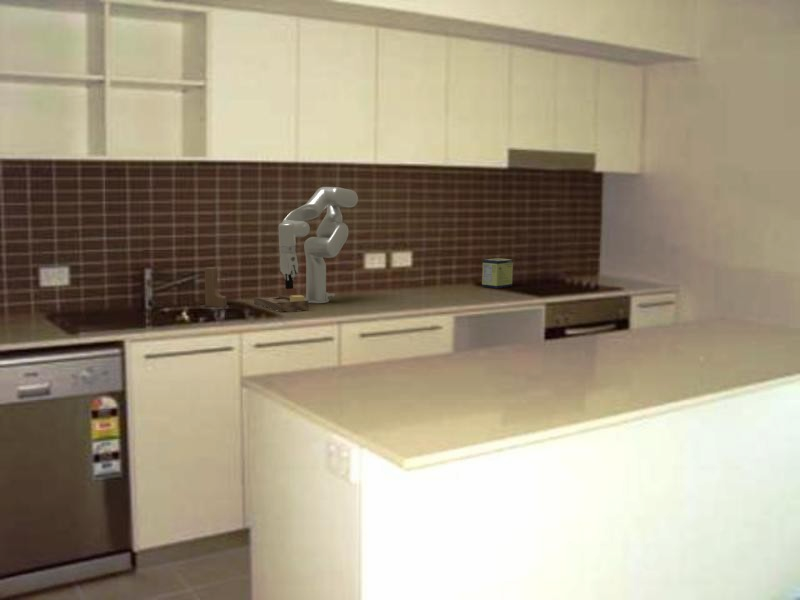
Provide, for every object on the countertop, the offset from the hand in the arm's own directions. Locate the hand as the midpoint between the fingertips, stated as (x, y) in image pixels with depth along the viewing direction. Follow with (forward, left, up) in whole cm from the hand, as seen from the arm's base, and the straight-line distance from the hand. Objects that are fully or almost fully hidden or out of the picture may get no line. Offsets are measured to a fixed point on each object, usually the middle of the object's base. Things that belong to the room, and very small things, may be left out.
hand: (289, 288), depth 410 cm
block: (0, +9, -6) cm, 11 cm away
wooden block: (+29, -17, -9) cm, 35 cm away
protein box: (-138, -17, -9) cm, 139 cm away
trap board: (+3, -3, -9) cm, 10 cm away
